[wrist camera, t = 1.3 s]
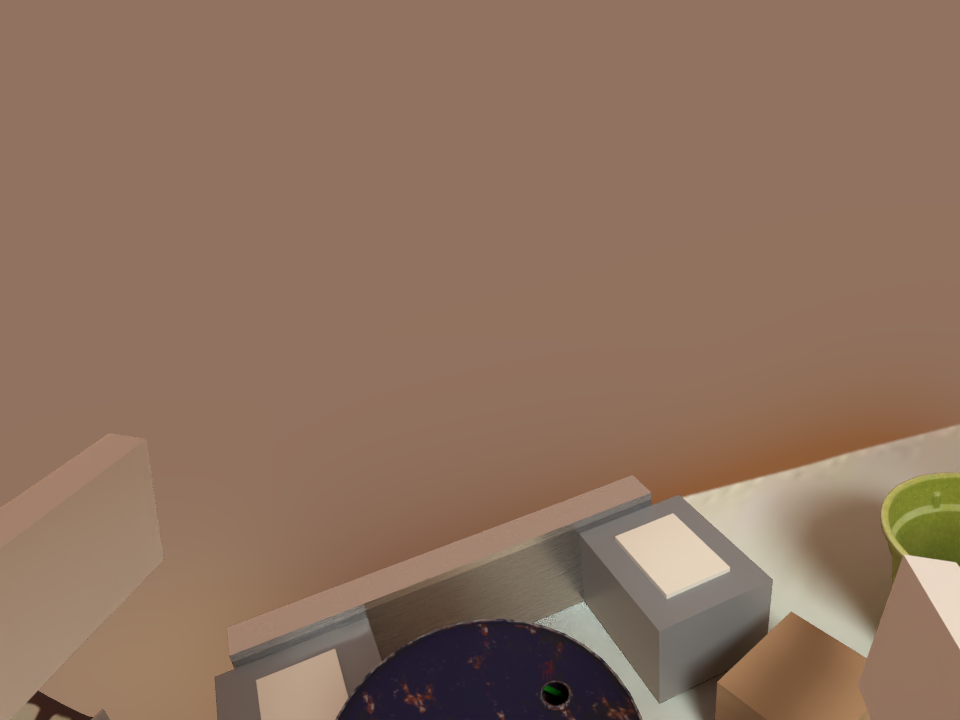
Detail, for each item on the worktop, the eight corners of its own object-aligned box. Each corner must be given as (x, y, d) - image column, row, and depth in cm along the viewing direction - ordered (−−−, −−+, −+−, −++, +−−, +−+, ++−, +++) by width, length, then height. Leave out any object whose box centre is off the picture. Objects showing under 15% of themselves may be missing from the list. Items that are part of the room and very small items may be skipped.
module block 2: (765, 651, 39) (773, 575, 36) (659, 703, 37) (659, 627, 34) (677, 560, 46) (678, 490, 43) (584, 600, 44) (579, 529, 41)
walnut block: (877, 743, 34) (893, 675, 31) (808, 829, 31) (820, 761, 29) (783, 677, 37) (790, 611, 35) (713, 748, 35) (717, 681, 32)
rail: (652, 571, 45) (651, 492, 42) (263, 736, 38) (228, 655, 35) (634, 552, 47) (632, 474, 44) (259, 707, 40) (226, 627, 37)
